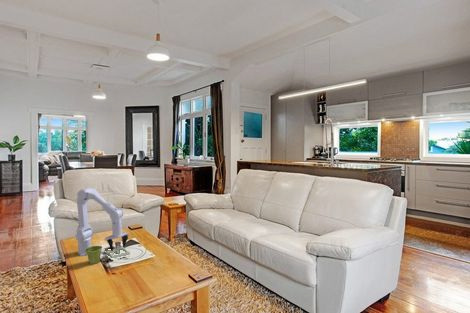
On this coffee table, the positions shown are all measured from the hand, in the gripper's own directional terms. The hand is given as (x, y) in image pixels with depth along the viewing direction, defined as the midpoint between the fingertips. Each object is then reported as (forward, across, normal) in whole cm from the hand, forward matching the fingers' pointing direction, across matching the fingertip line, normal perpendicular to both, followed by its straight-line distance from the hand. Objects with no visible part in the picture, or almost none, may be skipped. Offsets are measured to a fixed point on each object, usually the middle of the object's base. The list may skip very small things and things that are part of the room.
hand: (117, 248), depth 184 cm
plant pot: (+5, -14, +1) cm, 15 cm away
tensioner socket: (+5, -1, +10) cm, 12 cm away
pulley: (+5, +6, +10) cm, 13 cm away
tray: (+5, 0, 0) cm, 5 cm away
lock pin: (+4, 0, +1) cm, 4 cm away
